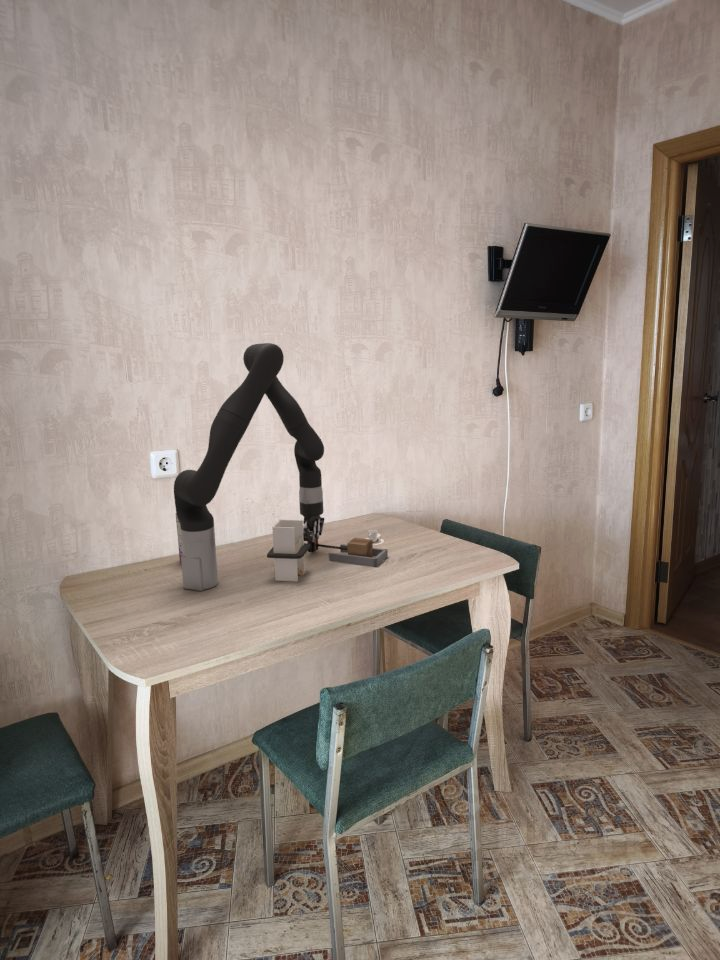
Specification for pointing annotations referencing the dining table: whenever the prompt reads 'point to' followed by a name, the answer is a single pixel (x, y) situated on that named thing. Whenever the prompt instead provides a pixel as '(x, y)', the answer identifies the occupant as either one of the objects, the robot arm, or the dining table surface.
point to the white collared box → (288, 550)
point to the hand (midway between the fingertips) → (313, 550)
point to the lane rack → (360, 557)
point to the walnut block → (354, 547)
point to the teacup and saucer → (374, 536)
